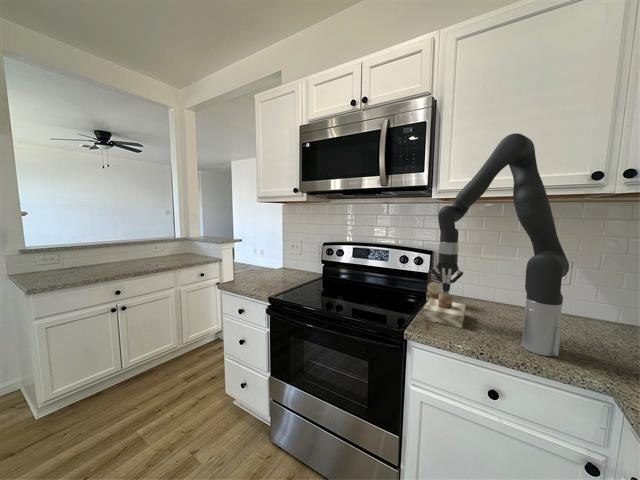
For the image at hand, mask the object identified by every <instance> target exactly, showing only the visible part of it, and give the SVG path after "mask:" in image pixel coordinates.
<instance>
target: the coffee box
mask: <svg viewBox="0 0 640 480" xmlns="http://www.w3.org/2000/svg"><path fill="white" fill-rule="evenodd" d="M438 274H439V275H440V276H441V278H442V274H441V273H440V272H439V270H438ZM447 277H448V276H447V275H446V283H447ZM426 283H427V284H426V300H425V301H427V302H428V301H429V299H430V298H431V299H437V300H439V294H442V293H443V294H449V293H450V290H449V291H448V292H444V290H443V283H442V282H441V281H438V279H437V278H436V276H435V275H434V274H433V272H432V269H431V270H428V271H427V282H426ZM449 295H450V294H449Z"/></svg>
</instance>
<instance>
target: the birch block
mask: <svg viewBox="0 0 640 480" xmlns="http://www.w3.org/2000/svg"><path fill="white" fill-rule="evenodd" d="M438 301H439V300H437V299H431V298H430V299H429V301H427V302H426V303H425V305H424V307H423V309H422V320H423V321H427V322H433V323H436V322H438V323H437V324H441V323H442V324H441V325H446V326H452V327H456V328H459V329H462V328H463V324H464V321H465V320H464V319H465V315H466V304H465V303H461V302H460V303H459V302H454V301H452V308H450V309H446V308H441V307H439V306H438Z"/></svg>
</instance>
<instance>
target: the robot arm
mask: <svg viewBox="0 0 640 480" xmlns="http://www.w3.org/2000/svg"><path fill="white" fill-rule="evenodd" d="M507 166H509V168H510V172H511V175H512V178H513V190H512V191H513V192H512V193H513V194H512V198H513V199H512V200H513V206H514V210H515V213H516V216H517V218H518V221H519V223H520V225H521V226H522V228H523V230H524V231H525V233H526V235H527V236H528V237H529V239H530V242H531V246H532V250H533V253H534V255H533V256H532V257H531V258H529V259H528V261H527V263H526V268H525V283H524V284H525V285H524V289H525V292H526V298H525V307H524V316H523V317H524V318H523V325H522V326H523V327H522V328H523V329H522V335H521V336H522V337H521V346H522V348H524V349H525V350H527V351H529V352H531V353H534V354H536V355H539V356H545V357H556V358H558V357H559V354H560V353H559V352H560V345H561V338H562V337H561V335H562V327H561V319H562V311H563V310H562V308H563V302H564V296H563V294H562V291H561V290H562V280H563V279H562V278H564V277H566V276H567V274H568V273H569V270H570V264H569V260H568V258H567V256H566V254H565V252H564V249H563V246H562V245H561V242H560V239H559V237H558V234H557V233H558V232H557V228H556V223H555V220H554V216H553V212H552V208H551V204H550V201H549V197H548V194H547V191H546V188H545V185H544V183H543V180H542V177H541V175H540V172H539V169H538V163H537V156H536V149H535V144H534V142H533V140H532V139H531V138H529V137H528V136H526V135H523V134H522V133H517V132H516V133H511V134H508V135H506V136H505V137H504V138H502V140H501V141H500V142H499V143H497V146H495V148H494V150H493V152H491V154H490V156H489V157H488V158H487V160H486V161H485V162H484V163H483V165H482V166H481V167H480V169H479V170H478V171H477V172H476V174H475V175H474V176H473V177H472V178H471V180H469V182H468V183H467V184H466V185H464V187H463V188H462V189H461V190H460V191H459V192H458V193H457V194H456V196H455V201H454V202H453V203H452V204H451V205H444V206H442V207H440V209H439V211H438V215H437V216H438V217H437V220H438V227H439V230H440V231H439V232H440V234H439V235H440V236H439V245H438V259H437V264H436V267H434V268H432V269H431V270H432V272H433V274H434V275H435V276H436V278H437V279H438V281H441V282H442V283H443V290H444V292H448V291H449V292H450V290H451V284H454V283H456V282H457V281H458V280H459V279H460V278H461V277H462V276H463V275H464V271H461V270H460V269H459V266H458V260H459V259H458V258H459V230H458V229H457V228H456V223H457V222H459V221H460V220H461V219H462V218H463V217H464V216H465V215H466V214H467V212H469V209H470V208H471V207H472V206H473V205H474V204H475V203H476V202H477V201H478V200H479V199H480V198H481V197H482V196H483V195H484V194H485V192H486V191H487V190H488V188H489V187H490V185H491V184H492V182H493V181H494V179H495V178H496V176H498V174H500V172H501V171H502V170H503V169H504V168H506V167H507ZM438 270H439V272H440V273H441V274H442V278H441V276H440V275H439V274H438ZM455 273H456V276H455V277H453V276H454V275H455ZM446 275H447V276H448V277H447V283H446ZM452 277H453V278H452Z"/></svg>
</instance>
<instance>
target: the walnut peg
mask: <svg viewBox="0 0 640 480" xmlns="http://www.w3.org/2000/svg"><path fill="white" fill-rule="evenodd" d="M452 302H453V295H452V294H443V293H442V294H439V301H438V306H439V307H441V308H446V309H450V308H452Z"/></svg>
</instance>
